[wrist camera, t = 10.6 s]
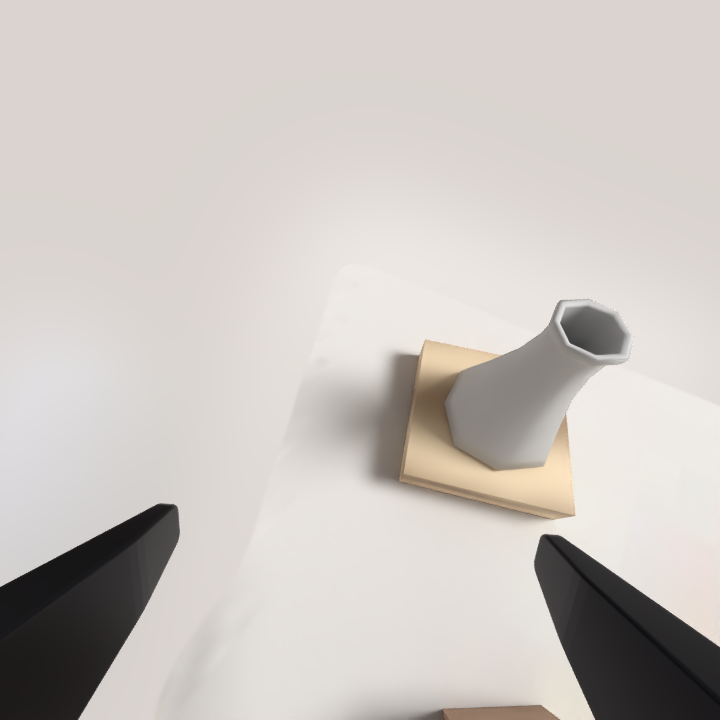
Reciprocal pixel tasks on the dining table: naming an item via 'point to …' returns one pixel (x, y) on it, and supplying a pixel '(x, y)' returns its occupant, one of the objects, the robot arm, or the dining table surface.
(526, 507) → the oak block
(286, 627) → the dining table surface
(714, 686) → the robot arm
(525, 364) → the flask
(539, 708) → the walnut cube
